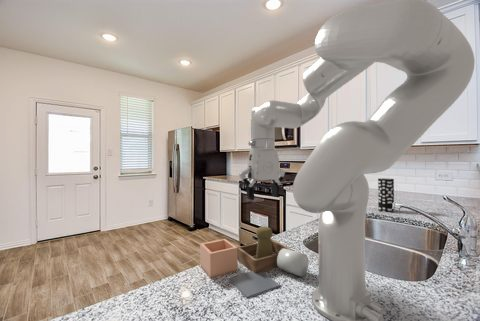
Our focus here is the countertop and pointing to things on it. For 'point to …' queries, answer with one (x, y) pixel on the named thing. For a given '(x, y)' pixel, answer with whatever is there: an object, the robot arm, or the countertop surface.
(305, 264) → the white plastic tumbler
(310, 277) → the countertop surface
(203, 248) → the copper open box
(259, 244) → the pepper shaker
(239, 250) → the walnut open frame
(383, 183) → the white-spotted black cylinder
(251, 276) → the slate coaster
